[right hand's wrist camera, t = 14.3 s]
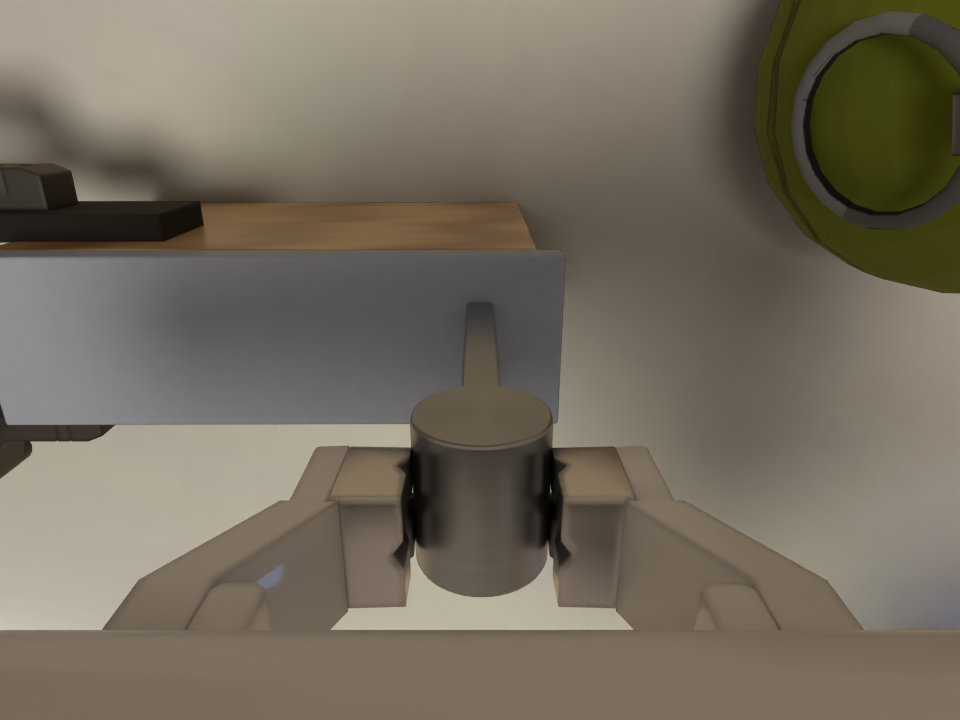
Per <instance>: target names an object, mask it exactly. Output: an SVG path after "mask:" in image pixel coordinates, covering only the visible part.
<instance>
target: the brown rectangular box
mask: <svg viewBox="0 0 960 720" xmlns="http://www.w3.org/2000/svg"><path fill="white" fill-rule="evenodd" d="M200 204H201V210H202V216H203V223H204V226H201V227H199V228H196V229H194V230H191V231H189V232H186V233H184V234H181V235H179V236H176V237H174V238H172V239H169V240H167V241H164V242H11V243H7V244H4V245H0V251H85V250H537V249H536V246H535V244H534V242H533V239H532V237H531V235H530V232H529V230H528V227H527V225H526V223H525V220H524V218H523V216H522V213H521V211H520V209H519V206H518V204H517V203H200Z"/></svg>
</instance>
